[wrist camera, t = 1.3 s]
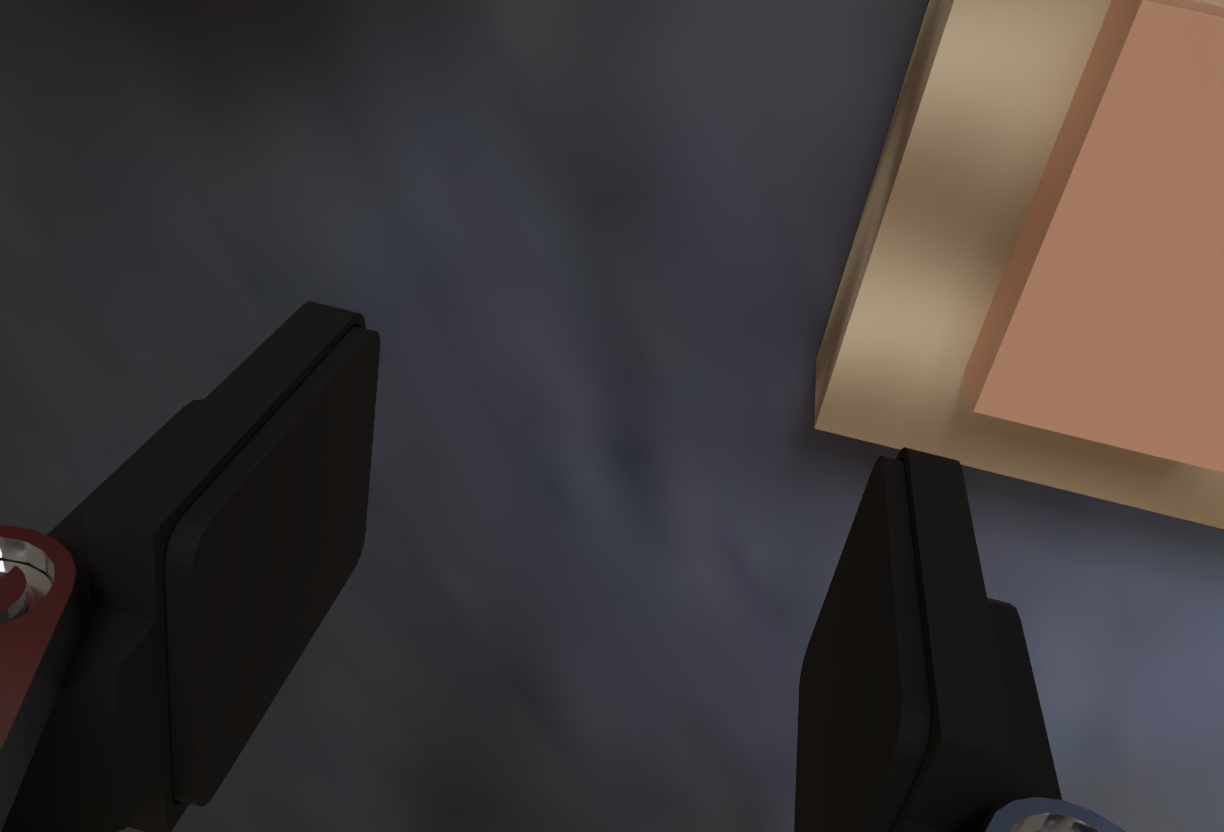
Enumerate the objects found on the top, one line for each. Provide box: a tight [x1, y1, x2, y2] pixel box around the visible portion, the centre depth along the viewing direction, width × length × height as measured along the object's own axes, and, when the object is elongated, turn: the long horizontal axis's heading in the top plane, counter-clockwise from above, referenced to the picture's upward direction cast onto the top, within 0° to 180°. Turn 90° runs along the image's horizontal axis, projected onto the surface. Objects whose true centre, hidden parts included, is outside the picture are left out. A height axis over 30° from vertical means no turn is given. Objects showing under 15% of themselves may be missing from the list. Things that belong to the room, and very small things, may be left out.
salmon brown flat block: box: [964, 0, 1224, 473], centre depth 23 cm, size 9×6×2 cm, turn 169°
